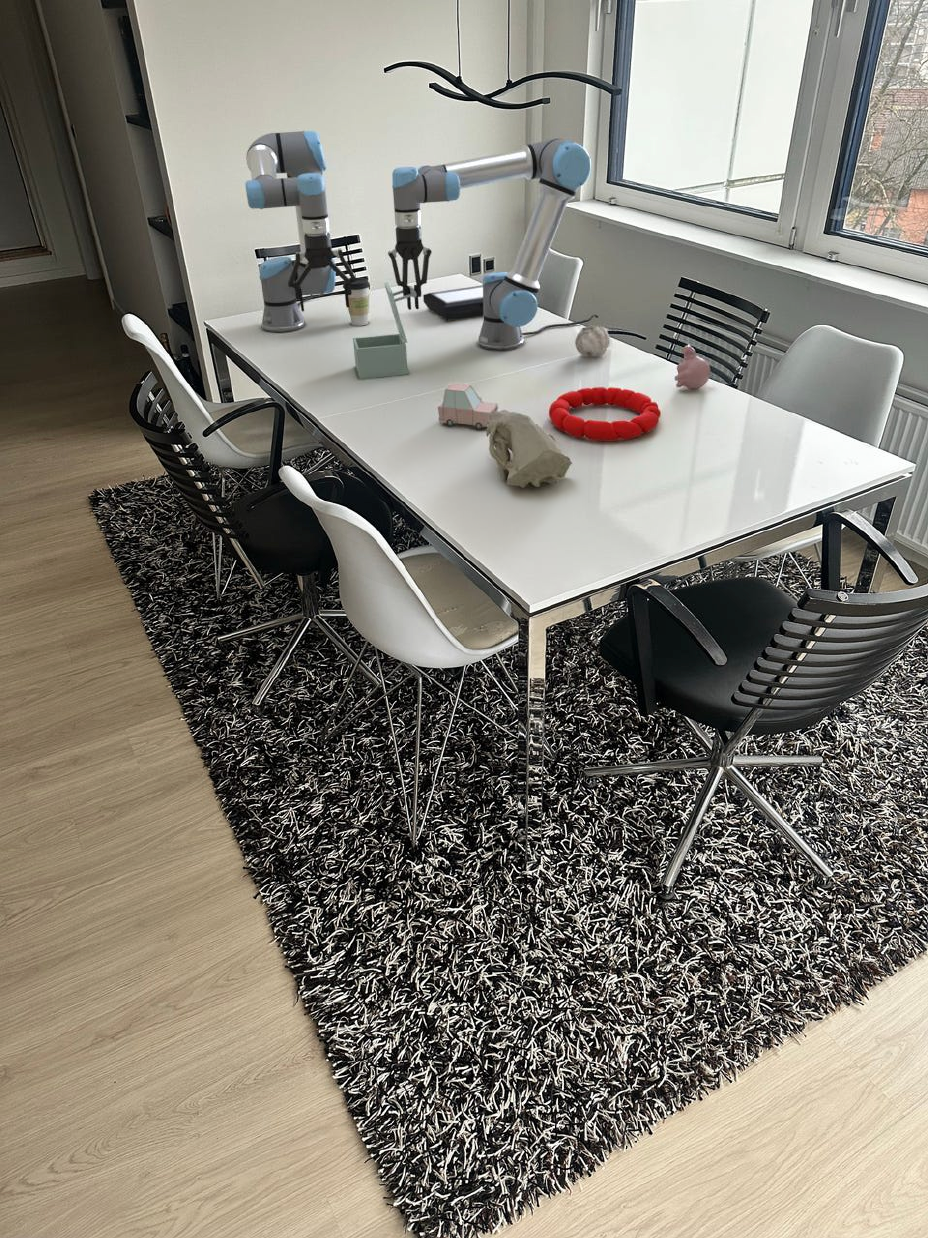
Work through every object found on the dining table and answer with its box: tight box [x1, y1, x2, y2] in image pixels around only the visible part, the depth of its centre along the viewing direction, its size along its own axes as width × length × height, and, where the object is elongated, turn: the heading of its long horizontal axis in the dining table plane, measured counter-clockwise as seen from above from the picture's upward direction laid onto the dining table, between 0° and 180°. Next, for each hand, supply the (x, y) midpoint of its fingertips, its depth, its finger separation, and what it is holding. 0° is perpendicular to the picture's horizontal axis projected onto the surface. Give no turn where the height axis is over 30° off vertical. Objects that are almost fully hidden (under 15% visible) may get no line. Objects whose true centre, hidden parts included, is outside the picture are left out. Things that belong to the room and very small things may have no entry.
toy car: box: [437, 382, 499, 431], centre depth 243 cm, size 9×15×10 cm, turn 70°
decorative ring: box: [548, 386, 661, 442], centre depth 242 cm, size 7×30×30 cm
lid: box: [383, 282, 417, 344], centre depth 275 cm, size 16×12×8 cm
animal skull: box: [485, 409, 573, 489], centre depth 216 cm, size 17×25×20 cm
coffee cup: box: [342, 277, 371, 327], centre depth 323 cm, size 10×10×15 cm
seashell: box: [574, 324, 611, 358], centre depth 286 cm, size 10×15×10 cm
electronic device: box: [422, 284, 483, 322], centre depth 335 cm, size 32×6×20 cm
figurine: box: [674, 344, 711, 390], centre depth 259 cm, size 9×11×12 cm
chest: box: [352, 333, 409, 380], centre depth 281 cm, size 15×12×9 cm
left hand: (325, 308), depth 270 cm, fingers open, 13 cm apart
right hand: (413, 307), depth 275 cm, fingers closed on lid, 2 cm apart
